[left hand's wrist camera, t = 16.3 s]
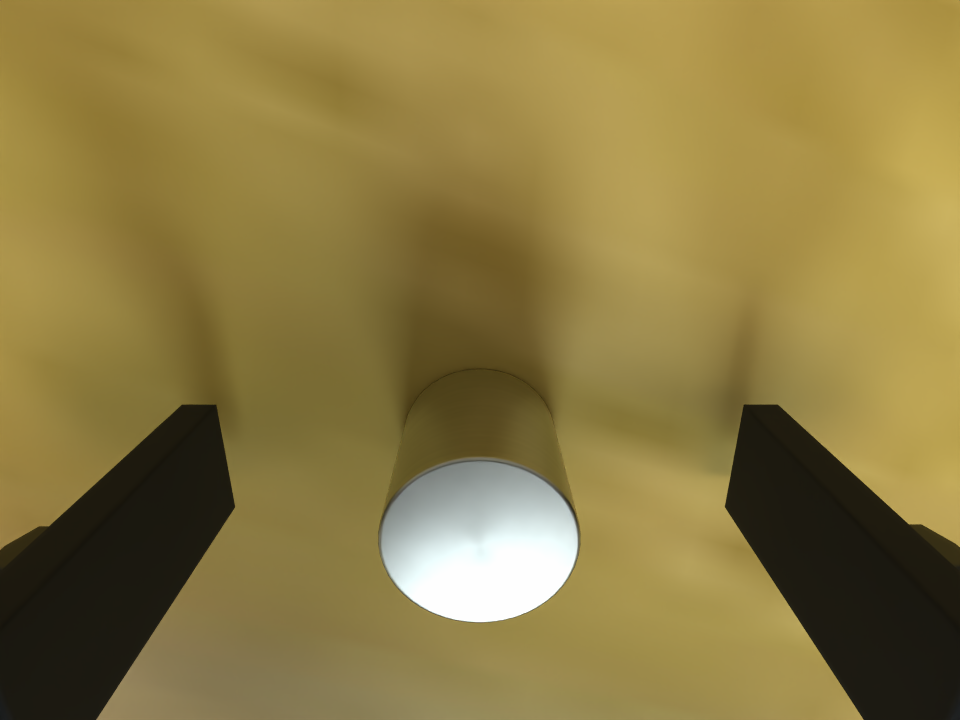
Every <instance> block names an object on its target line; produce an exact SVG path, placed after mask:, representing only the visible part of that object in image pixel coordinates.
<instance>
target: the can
mask: <svg viewBox="0 0 960 720" xmlns="http://www.w3.org/2000/svg"><path fill="white" fill-rule="evenodd" d="M580 544H581V533H580V526H579V521H578V517H577V513H576V509H575V505H574V501H573V498H572V494H571V490H570V486H569V482H568V478H567V474H566V470H565V466H564V463H563V459H562V455H561V451H560V447H559V443H558V439H557V435H556V431H555V428H554V424H553V420H552V417H551V414H550V412H549V410H548V408H547V405H546V404H545V402H544V401H543V399H542V398H541V397H540V396H539V395H538V393H537V392H536V391H535V390H534V389H532V388H531V387H530V386H529V385H528V384H526V383H525V382H523V381H521V380H520V379H518V378H516V377H514V376H512V375H509V374H506V373H503V372H500V371H495V370H488V369H470V370H464V371H459V372H456V373H453V374H449V375H447V376H445V377H443V378H441V379H439V380H437V381H436V382H434V383H433V384H431V385H430V386H429V387H428V388H426V389H425V390H424V391H423V392H422V393H421V394H420V395H419V396H418V398H417V399H416V401H415V402H414V404H413V405H412V407H411V409H410V411H409V414H408V417H407V419H406V423H405V427H404V431H403V435H402V439H401V442H400V446H399V450H398V454H397V458H396V462H395V466H394V470H393V474H392V478H391V482H390V485H389V489H388V493H387V497H386V501H385V505H384V509H383V513H382V517H381V521H380V526H379V532H378V545H379V551H380V556H381V559H382V562H383V565H384V567H385V569H386V572H387V574H388V576H389V577H390V579H391V580H392V582H393V583H394V585H395V586H396V587H397V588H398V589H399V590H400V591H401V592H402V593H403V594H404V595H405V596H406V597H407V598H408V599H410V600H411V601H412V602H414V603H415V604H417V605H418V606H420V607H421V608H423V609H425V610H427V611H429V612H431V613H433V614H436V615H439V616H441V617H445V618H448V619H452V620H457V621H463V622H476V623H483V622H495V621H502V620H507V619H510V618H514V617H517V616H520V615H523V614H525V613H528V612H530V611H532V610H534V609H536V608H538V607H539V606H541V605H542V604H544V603H545V602H547V601H548V600H549V599H550V598H552V597H553V596H554V595H555V594H556V593H557V592H558V591H559V590H560V589H561V588H562V587H563V586H564V584H565V583H566V581H567V580H568V578H569V577H570V575H571V573H572V571H573V569H574V567H575V565H576V562H577V559H578V556H579V551H580Z"/></svg>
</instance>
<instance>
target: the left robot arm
mask: <svg viewBox="0 0 960 720" xmlns="http://www.w3.org/2000/svg"><path fill="white" fill-rule="evenodd" d="M234 508H235V504H234V498H233V493H232V488H231V482H230V477H229V471H228V466H227V461H226V455H225V450H224V444H223V439H222V434H221V428H220V423H219V417H218V412H217V407H216V405H181V406H180V407H179V408H178V409H177V410H176V411H175V412H174V413H173V414H171V415H170V416H169V417H168V418H167V419H166V420H165V421H164V422H163V423H162V424H161V425H159V426H158V427H157V428H156V429H155V430H154V431H153V432H152V433H151V434H150V435H149V436H147V437H146V438H145V439H144V440H143V441H142V442H141V443H140V444H139V445H138V446H136V447H135V448H134V449H133V450H132V451H131V452H130V453H129V454H128V455H127V456H126V457H124V458H123V459H122V460H121V461H120V462H119V463H118V464H117V465H116V466H115V467H114V468H112V469H111V470H110V471H109V472H108V473H107V474H106V475H105V476H104V477H103V478H101V479H100V480H99V481H98V482H97V483H96V484H95V485H94V486H93V487H92V488H91V489H89V490H88V491H87V492H86V493H85V494H84V495H83V496H82V497H81V498H80V499H79V500H77V501H76V502H75V503H74V504H73V505H72V506H71V507H70V508H69V509H68V510H67V511H65V512H64V513H63V514H62V515H61V516H60V517H59V518H58V519H57V520H56V521H54V522H53V523H52V524H51V525H50V526H49V527H37V528H36V529H34V530H32V531H30V532H29V533H27V534H25V535H23V536H22V537H20V538H18V539H16V540H15V541H13V542H11V543H9V544H8V545H6V546H4V547H3V548H2V549H1V550H0V720H96V719H97V718H98V716H99V715H100V713H101V711H102V710H103V708H104V707H105V705H106V704H107V702H108V701H109V699H110V698H111V696H112V695H113V693H114V692H115V690H116V689H117V687H118V685H119V684H120V682H121V681H122V679H123V678H124V676H125V675H126V673H127V672H128V670H129V669H130V667H131V666H132V664H133V662H134V661H135V659H136V658H137V656H138V655H139V653H140V652H141V650H142V649H143V647H144V646H145V644H146V643H147V641H148V640H149V638H150V636H151V635H152V633H153V632H154V630H155V629H156V627H157V626H158V624H159V623H160V621H161V620H162V618H163V617H164V615H165V614H166V612H167V610H168V609H169V607H170V606H171V604H172V603H173V601H174V600H175V598H176V597H177V595H178V594H179V592H180V591H181V589H182V588H183V586H184V584H185V583H186V581H187V580H188V578H189V577H190V575H191V574H192V572H193V571H194V569H195V568H196V566H197V565H198V563H199V561H200V560H201V558H202V557H203V555H204V554H205V552H206V551H207V549H208V548H209V546H210V545H211V543H212V542H213V540H214V539H215V537H216V535H217V534H218V532H219V531H220V529H221V528H222V526H223V525H224V523H225V522H226V520H227V519H228V517H229V516H230V514H231V513H232V511H233V509H234ZM725 508H726V509H727V511H728V513H729V514H730V516H731V517H732V519H733V520H734V522H735V523H736V525H737V526H738V528H739V529H740V531H741V532H742V534H743V536H744V537H745V539H746V540H747V542H748V543H749V545H750V546H751V548H752V549H753V551H754V552H755V554H756V555H757V557H758V558H759V560H760V562H761V563H762V565H763V566H764V568H765V569H766V571H767V572H768V574H769V575H770V577H771V578H772V580H773V581H774V583H775V584H776V586H777V588H778V589H779V591H780V592H781V594H782V595H783V597H784V598H785V600H786V601H787V603H788V604H789V606H790V607H791V609H792V610H793V612H794V614H795V615H796V617H797V618H798V620H799V621H800V623H801V624H802V626H803V627H804V629H805V630H806V632H807V633H808V635H809V637H810V638H811V640H812V641H813V643H814V644H815V646H816V647H817V649H818V650H819V652H820V653H821V655H822V656H823V658H824V659H825V661H826V663H827V664H828V666H829V667H830V669H831V670H832V672H833V673H834V675H835V676H836V678H837V679H838V681H839V682H840V684H841V685H842V687H843V689H844V690H845V692H846V693H847V695H848V696H849V698H850V699H851V701H852V702H853V704H854V705H855V707H856V708H857V710H858V711H859V713H860V715H861V716H862V718H863V719H864V720H960V547H959V546H957V545H956V544H955V543H953V542H951V541H950V540H948V539H946V538H944V537H943V536H941V535H939V534H937V533H936V532H934V531H932V530H930V529H928V528H927V527H925V526H923V525H909V524H908V523H907V522H905V521H904V520H903V519H902V518H901V517H900V516H899V515H898V514H897V513H896V512H895V511H893V510H892V509H891V508H890V507H889V506H888V505H887V504H886V503H885V502H884V501H883V500H881V499H880V498H879V497H878V496H877V495H876V494H875V493H874V492H873V491H872V490H871V489H869V488H868V487H867V486H866V485H865V484H864V483H863V482H862V481H861V480H860V479H858V478H857V477H856V476H855V475H854V474H853V473H852V472H851V471H850V470H849V469H848V468H846V467H845V466H844V465H843V464H842V463H841V462H840V461H839V460H838V459H837V458H836V457H834V456H833V455H832V454H831V453H830V452H829V451H828V450H827V449H826V448H825V447H824V446H822V445H821V444H820V443H819V442H818V441H817V440H816V439H815V438H814V437H813V436H811V435H810V434H809V433H808V432H807V431H806V430H805V429H804V428H803V427H802V426H801V425H799V424H798V423H797V422H796V421H795V420H794V419H793V418H792V417H791V416H790V415H789V414H787V413H786V412H785V411H784V410H783V409H782V408H781V407H780V406H779V405H744V406H743V412H742V417H741V423H740V428H739V433H738V439H737V444H736V450H735V455H734V460H733V466H732V471H731V477H730V482H729V487H728V493H727V498H726V504H725Z"/></svg>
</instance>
